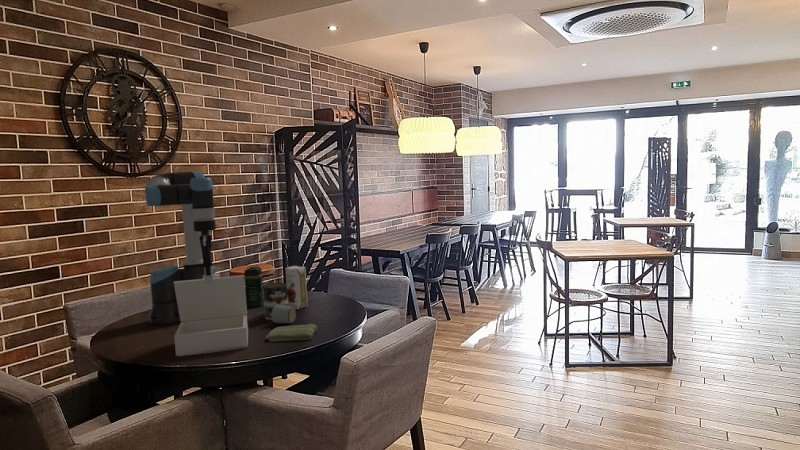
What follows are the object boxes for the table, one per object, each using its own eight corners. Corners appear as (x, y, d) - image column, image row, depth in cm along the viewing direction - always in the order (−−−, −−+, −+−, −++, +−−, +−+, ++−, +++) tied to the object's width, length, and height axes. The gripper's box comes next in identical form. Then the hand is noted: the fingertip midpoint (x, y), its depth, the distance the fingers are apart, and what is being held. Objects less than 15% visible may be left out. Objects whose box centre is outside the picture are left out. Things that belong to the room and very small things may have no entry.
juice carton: (297, 304, 245) (295, 265, 243) (310, 306, 240) (307, 266, 238) (285, 308, 239) (282, 267, 237) (298, 310, 234) (295, 269, 232)
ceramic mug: (289, 325, 211) (288, 307, 210) (271, 325, 213) (270, 307, 212) (300, 318, 221) (299, 301, 221) (283, 318, 223) (282, 301, 223)
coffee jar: (262, 307, 243) (259, 268, 241) (245, 308, 242) (242, 269, 240) (265, 302, 253) (262, 264, 251) (248, 303, 252) (245, 265, 250)
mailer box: (182, 341, 197) (181, 322, 196) (248, 333, 203) (246, 314, 203) (176, 356, 180) (174, 336, 179) (247, 347, 186) (246, 327, 185)
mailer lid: (180, 321, 196) (182, 307, 203) (247, 314, 203) (246, 300, 210) (173, 282, 187) (175, 269, 194) (243, 276, 193) (243, 263, 200)
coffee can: (291, 317, 224) (289, 285, 222) (268, 321, 219) (265, 288, 217) (285, 312, 233) (283, 281, 231) (262, 315, 228) (260, 284, 226)
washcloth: (274, 332, 205) (273, 324, 204) (318, 330, 204) (317, 322, 204) (264, 343, 192) (264, 335, 191) (312, 341, 191) (311, 333, 191)
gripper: (195, 219, 193) (200, 281, 195) (191, 221, 180) (196, 288, 182) (216, 218, 195) (221, 279, 197) (213, 220, 182) (218, 286, 184)
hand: (209, 283), depth 189 cm, fingers closed
